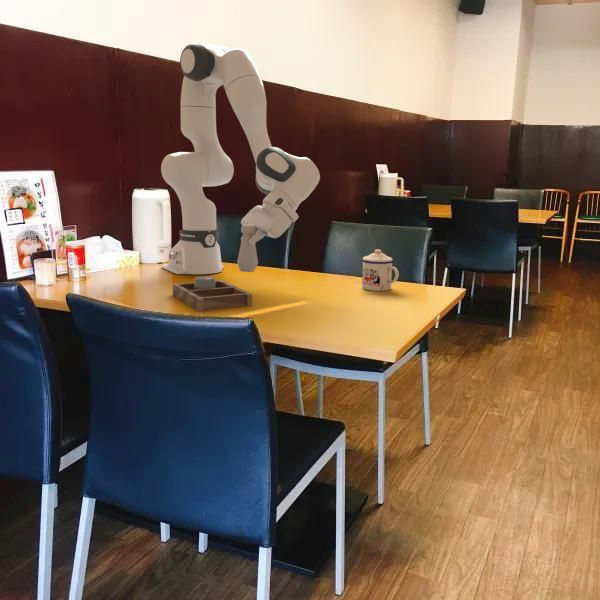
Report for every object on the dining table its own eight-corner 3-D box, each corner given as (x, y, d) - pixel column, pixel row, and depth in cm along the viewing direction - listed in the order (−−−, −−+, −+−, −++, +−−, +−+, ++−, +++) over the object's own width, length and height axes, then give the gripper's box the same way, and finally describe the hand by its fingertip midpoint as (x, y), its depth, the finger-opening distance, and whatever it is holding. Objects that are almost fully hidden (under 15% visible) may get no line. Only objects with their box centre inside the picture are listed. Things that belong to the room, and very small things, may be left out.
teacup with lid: (354, 288, 185) (356, 249, 183) (373, 284, 192) (374, 246, 189) (387, 294, 177) (389, 254, 175) (405, 290, 184) (408, 251, 181)
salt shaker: (254, 273, 173) (255, 226, 170) (234, 271, 174) (235, 225, 171) (259, 270, 178) (261, 224, 175) (240, 268, 179) (242, 223, 176)
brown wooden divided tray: (173, 298, 168) (172, 283, 167) (221, 293, 175) (221, 279, 174) (199, 315, 151) (198, 299, 150) (252, 309, 157) (252, 294, 156)
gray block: (190, 296, 167) (189, 278, 165) (207, 293, 170) (207, 275, 169) (202, 299, 163) (202, 281, 162) (219, 296, 166) (219, 278, 165)
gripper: (255, 196, 183) (224, 230, 181) (287, 202, 166) (254, 239, 164) (268, 211, 187) (238, 244, 184) (301, 218, 169) (269, 255, 167)
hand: (246, 242), depth 174 cm, fingers closed on salt shaker, 3 cm apart
